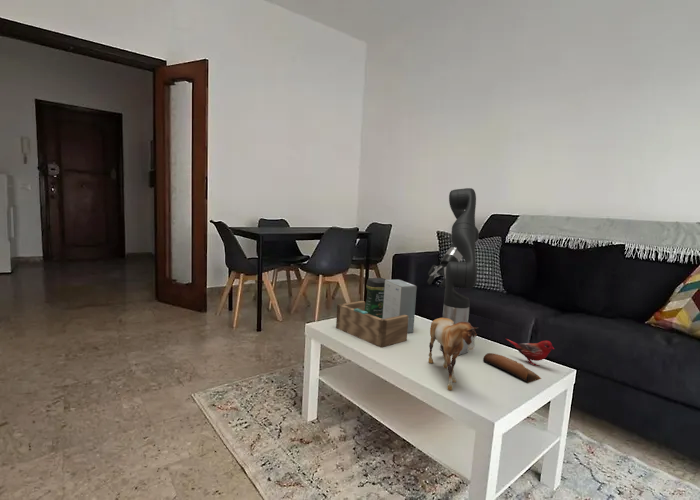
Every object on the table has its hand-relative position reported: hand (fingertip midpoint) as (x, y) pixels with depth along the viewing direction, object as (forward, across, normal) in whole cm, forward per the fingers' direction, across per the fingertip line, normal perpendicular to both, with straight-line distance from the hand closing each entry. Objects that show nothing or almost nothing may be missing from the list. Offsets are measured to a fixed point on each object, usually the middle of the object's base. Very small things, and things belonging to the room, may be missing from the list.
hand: (435, 284), depth 188 cm
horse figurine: (+43, +43, -20) cm, 64 cm away
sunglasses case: (+30, +52, -6) cm, 60 cm away
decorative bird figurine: (+21, +52, +2) cm, 56 cm away
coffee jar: (+27, -17, -3) cm, 32 cm away
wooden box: (+40, 0, -17) cm, 44 cm away
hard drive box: (+29, 0, -5) cm, 30 cm away
